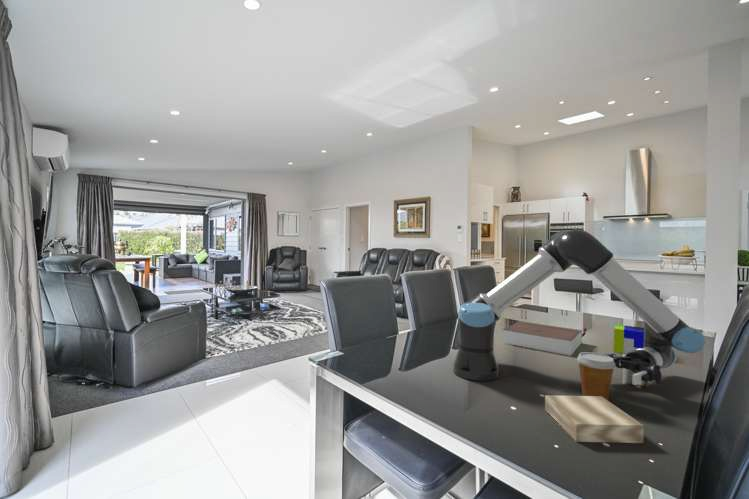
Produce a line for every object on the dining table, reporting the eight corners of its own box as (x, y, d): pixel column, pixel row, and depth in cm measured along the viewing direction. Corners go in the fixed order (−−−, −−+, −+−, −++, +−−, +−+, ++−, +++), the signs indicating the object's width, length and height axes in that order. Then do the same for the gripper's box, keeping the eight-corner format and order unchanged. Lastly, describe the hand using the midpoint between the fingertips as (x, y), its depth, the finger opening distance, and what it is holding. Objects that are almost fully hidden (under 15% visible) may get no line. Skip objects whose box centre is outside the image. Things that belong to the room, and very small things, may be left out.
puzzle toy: (643, 357, 140) (644, 332, 140) (613, 352, 146) (614, 328, 146) (643, 351, 148) (644, 327, 148) (614, 346, 154) (615, 324, 154)
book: (518, 333, 176) (518, 321, 176) (581, 344, 158) (582, 330, 158) (501, 344, 157) (501, 330, 157) (571, 357, 140) (571, 341, 139)
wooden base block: (576, 441, 78) (576, 424, 78) (544, 410, 93) (545, 395, 93) (643, 443, 78) (643, 425, 78) (601, 411, 93) (601, 396, 93)
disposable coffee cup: (603, 391, 106) (603, 352, 106) (622, 405, 96) (623, 363, 96) (570, 389, 107) (571, 351, 107) (586, 404, 97) (587, 361, 97)
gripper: (691, 386, 103) (657, 401, 93) (602, 361, 125) (567, 370, 115) (692, 361, 103) (658, 373, 93) (603, 340, 125) (567, 348, 115)
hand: (607, 372), depth 104 cm, fingers open, 13 cm apart
